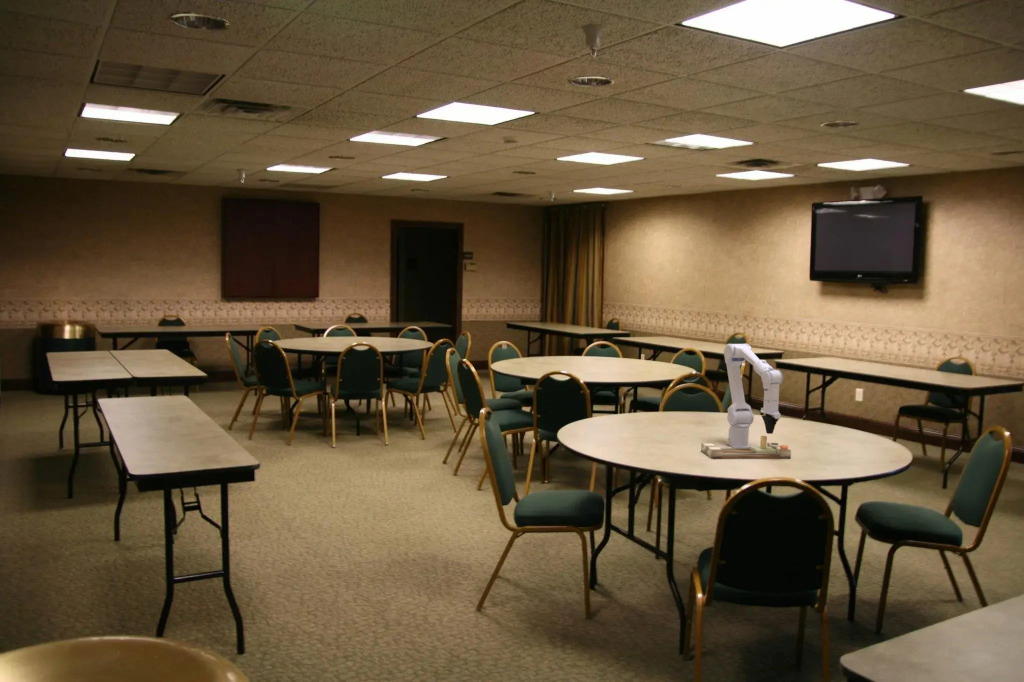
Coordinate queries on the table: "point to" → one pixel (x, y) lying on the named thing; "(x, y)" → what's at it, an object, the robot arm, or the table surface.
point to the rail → (744, 452)
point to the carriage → (763, 447)
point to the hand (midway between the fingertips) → (769, 433)
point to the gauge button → (784, 447)
